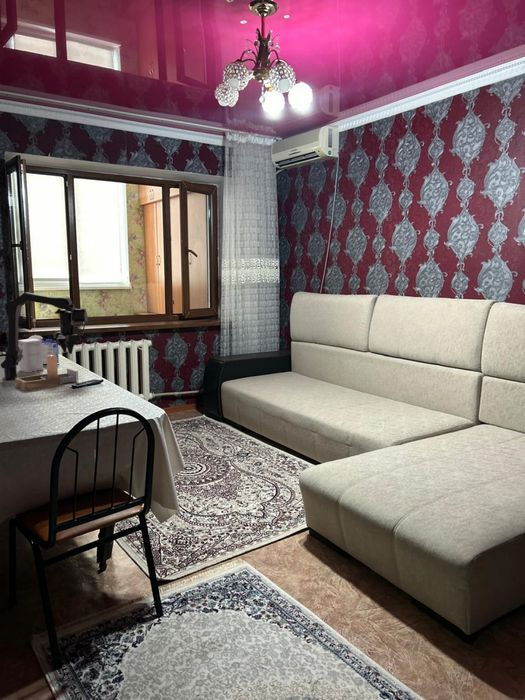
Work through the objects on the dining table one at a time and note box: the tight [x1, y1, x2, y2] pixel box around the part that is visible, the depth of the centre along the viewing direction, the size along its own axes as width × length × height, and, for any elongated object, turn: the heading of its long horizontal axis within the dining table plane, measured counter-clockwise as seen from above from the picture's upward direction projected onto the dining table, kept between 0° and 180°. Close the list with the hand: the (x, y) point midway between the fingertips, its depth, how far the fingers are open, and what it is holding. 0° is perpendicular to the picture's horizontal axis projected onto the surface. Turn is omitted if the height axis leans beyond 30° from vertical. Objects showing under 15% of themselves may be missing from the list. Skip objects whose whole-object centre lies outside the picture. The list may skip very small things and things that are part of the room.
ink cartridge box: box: [41, 338, 60, 364], centre depth 314 cm, size 10×6×14 cm, turn 78°
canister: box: [46, 355, 59, 379], centre depth 266 cm, size 5×5×12 cm
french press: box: [27, 318, 46, 343], centre depth 324 cm, size 10×12×25 cm
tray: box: [40, 367, 79, 384], centre depth 269 cm, size 10×15×5 cm, turn 134°
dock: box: [14, 373, 62, 392], centre depth 262 cm, size 12×17×4 cm
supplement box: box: [18, 338, 44, 373], centre depth 297 cm, size 10×9×17 cm
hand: (67, 353), depth 277 cm, fingers open, 6 cm apart
